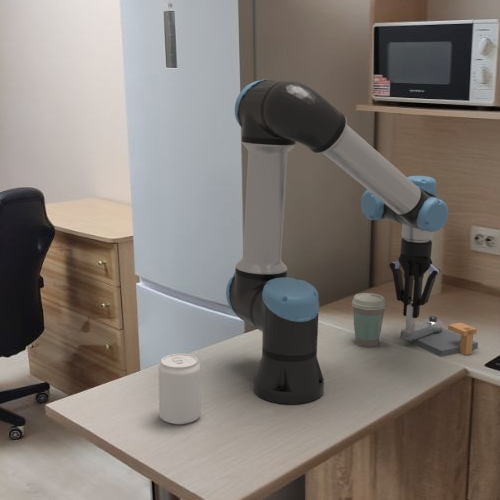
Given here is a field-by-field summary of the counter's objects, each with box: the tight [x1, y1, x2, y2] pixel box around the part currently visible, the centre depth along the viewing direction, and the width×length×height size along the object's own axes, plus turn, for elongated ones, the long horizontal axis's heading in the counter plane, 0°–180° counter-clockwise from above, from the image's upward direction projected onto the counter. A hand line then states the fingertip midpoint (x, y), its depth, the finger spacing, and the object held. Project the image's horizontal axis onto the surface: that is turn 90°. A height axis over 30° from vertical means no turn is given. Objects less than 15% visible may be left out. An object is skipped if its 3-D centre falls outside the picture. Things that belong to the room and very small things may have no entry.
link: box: [400, 315, 443, 342], centre depth 195 cm, size 14×5×3 cm, turn 133°
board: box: [399, 327, 479, 357], centre depth 194 cm, size 12×15×2 cm
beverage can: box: [158, 353, 202, 425], centre depth 150 cm, size 8×8×12 cm
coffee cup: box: [351, 292, 387, 348], centre depth 192 cm, size 8×8×12 cm
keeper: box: [447, 322, 478, 356], centre depth 188 cm, size 4×6×6 cm
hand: (410, 328), depth 196 cm, fingers closed
